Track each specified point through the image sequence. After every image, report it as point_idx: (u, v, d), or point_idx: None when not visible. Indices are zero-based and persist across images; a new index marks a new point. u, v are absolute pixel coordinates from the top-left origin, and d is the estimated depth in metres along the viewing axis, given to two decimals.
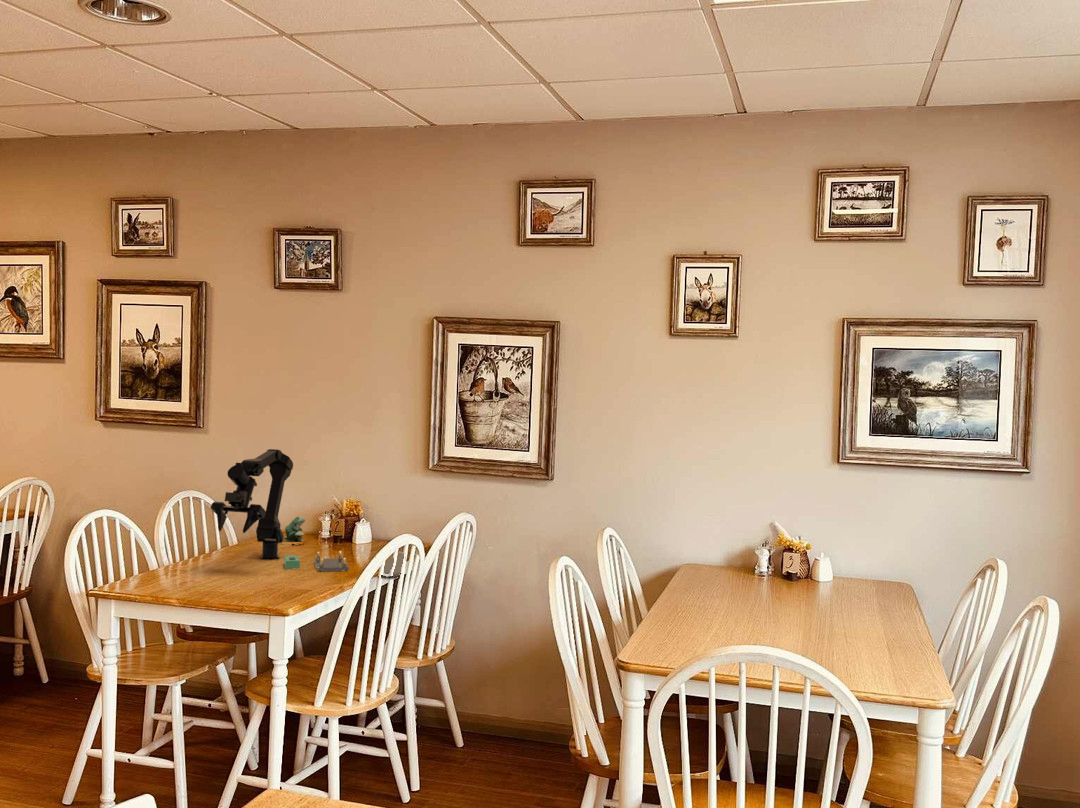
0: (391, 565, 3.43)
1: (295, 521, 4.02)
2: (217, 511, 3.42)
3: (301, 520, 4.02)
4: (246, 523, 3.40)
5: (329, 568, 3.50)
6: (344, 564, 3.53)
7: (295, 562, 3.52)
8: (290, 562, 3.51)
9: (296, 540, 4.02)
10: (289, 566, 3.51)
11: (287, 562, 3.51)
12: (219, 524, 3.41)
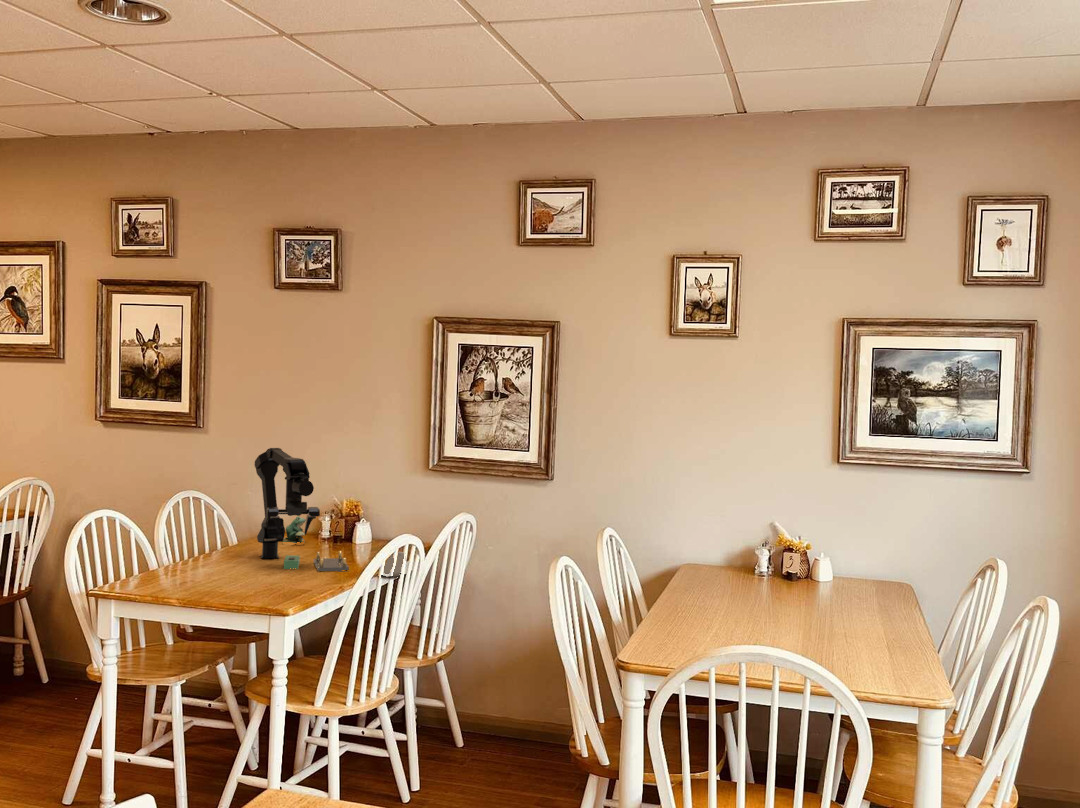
0: (391, 565, 3.43)
1: (296, 521, 4.01)
2: (275, 519, 3.52)
3: (302, 520, 4.02)
4: (307, 527, 3.56)
5: (329, 568, 3.50)
6: (344, 564, 3.53)
7: (293, 562, 3.52)
8: (288, 562, 3.51)
9: (297, 540, 4.01)
10: (287, 566, 3.51)
11: (285, 562, 3.51)
12: (279, 530, 3.54)
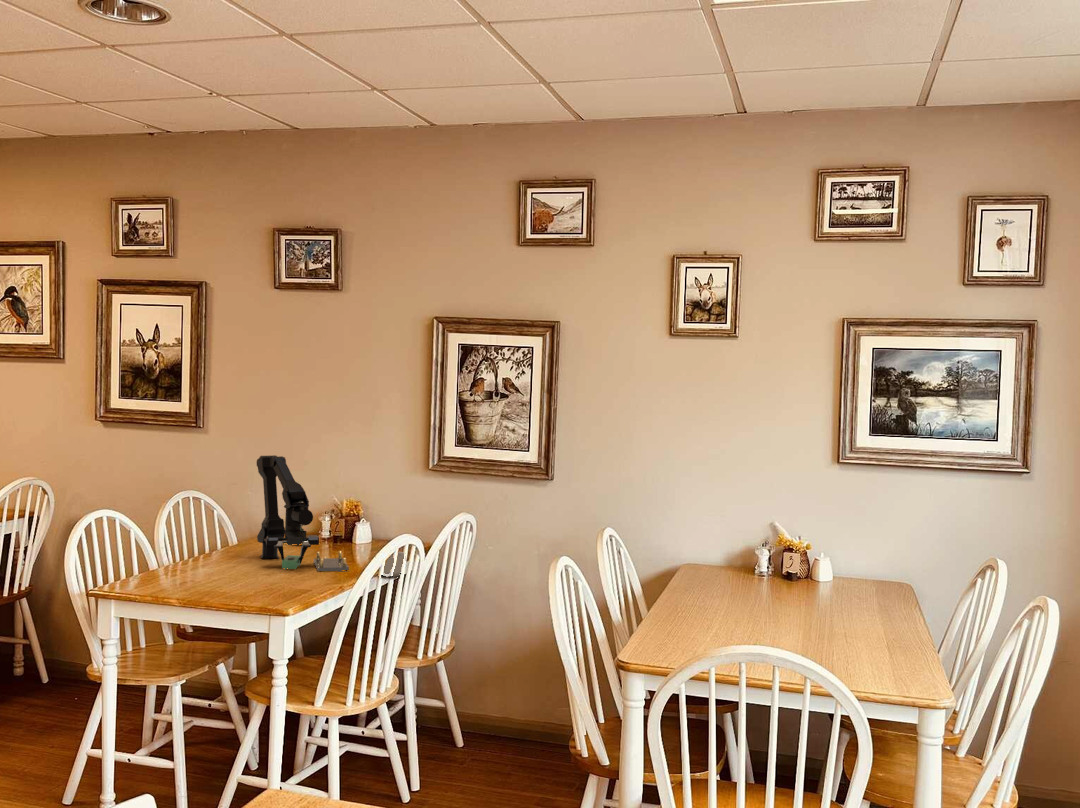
0: (391, 565, 3.43)
1: None
2: (279, 548, 3.52)
3: None
4: (302, 555, 3.56)
5: (329, 568, 3.50)
6: (344, 564, 3.53)
7: (291, 562, 3.51)
8: (286, 562, 3.51)
9: None
10: (285, 566, 3.51)
11: (283, 562, 3.51)
12: (283, 558, 3.54)
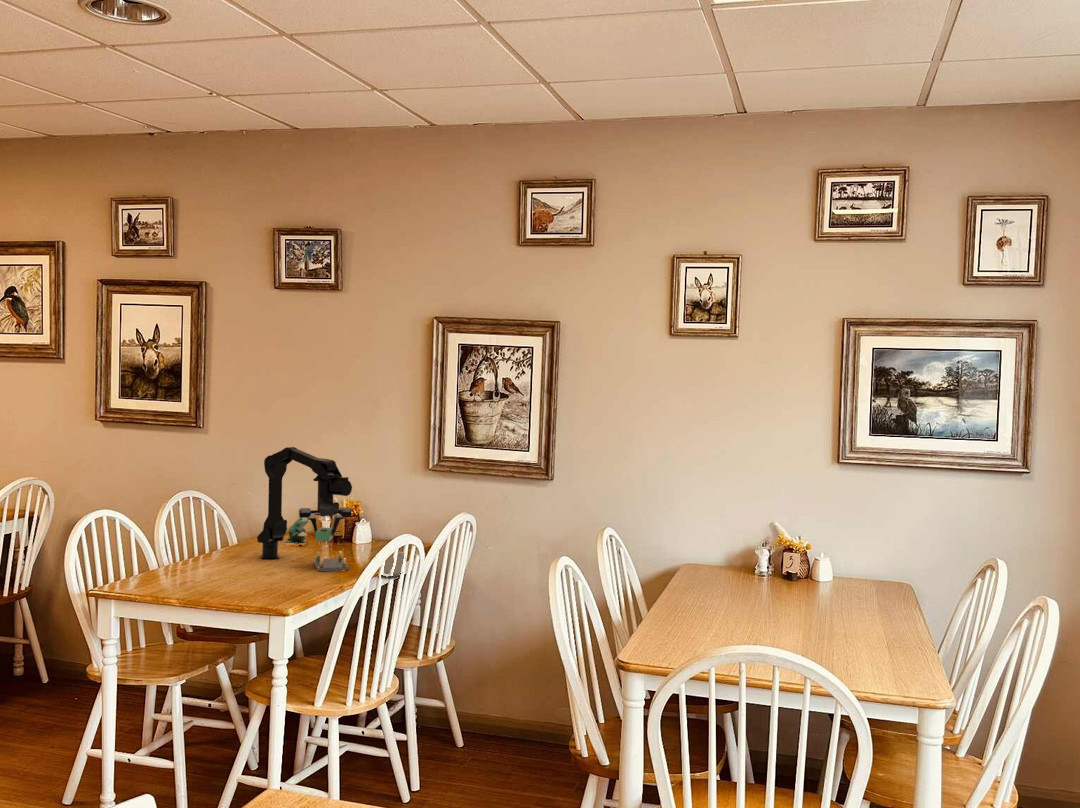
0: (391, 565, 3.43)
1: (298, 522, 4.00)
2: (312, 520, 3.54)
3: (304, 521, 4.01)
4: (334, 527, 3.58)
5: (329, 568, 3.50)
6: (344, 564, 3.53)
7: (325, 533, 3.53)
8: (320, 533, 3.53)
9: (299, 541, 4.00)
10: (319, 537, 3.53)
11: (317, 533, 3.53)
12: (316, 530, 3.56)
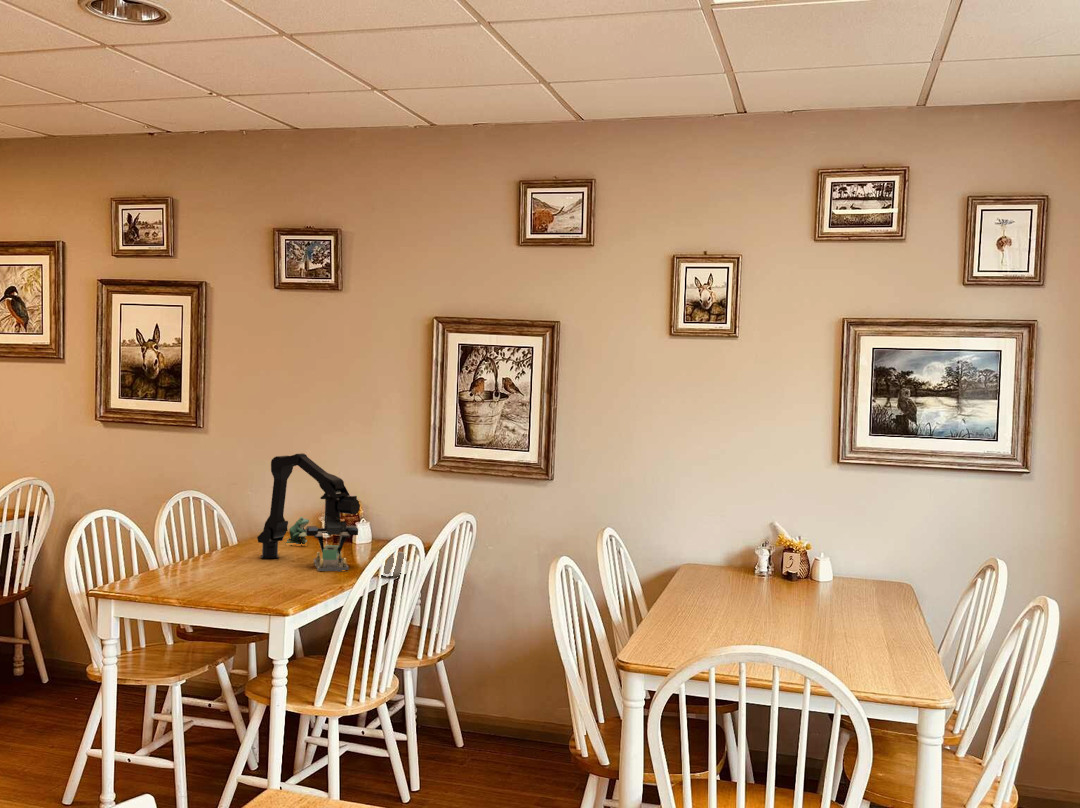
0: (391, 565, 3.43)
1: (299, 522, 4.00)
2: (319, 538, 3.55)
3: (305, 521, 4.00)
4: (341, 545, 3.59)
5: (329, 568, 3.50)
6: (344, 564, 3.53)
7: (332, 551, 3.54)
8: (327, 551, 3.54)
9: (300, 541, 4.00)
10: (326, 555, 3.54)
11: (324, 551, 3.54)
12: (322, 548, 3.57)
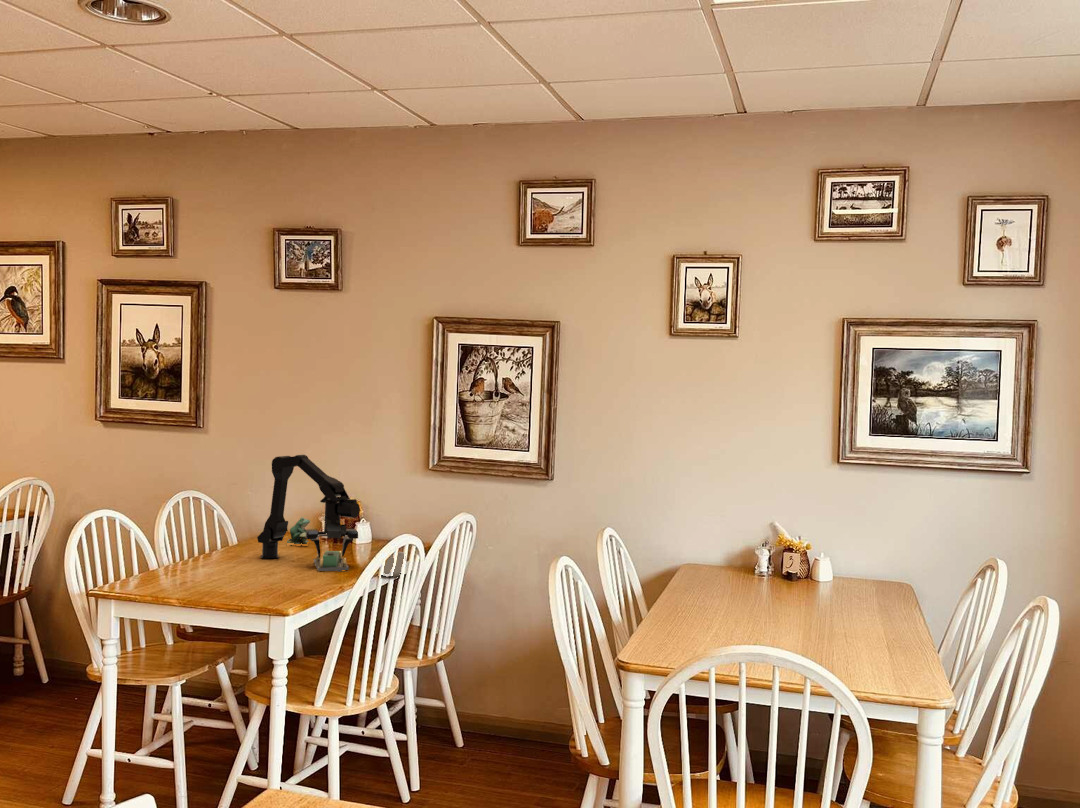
0: (391, 565, 3.43)
1: (300, 522, 3.99)
2: (316, 541, 3.54)
3: (306, 521, 4.00)
4: (344, 549, 3.59)
5: (329, 568, 3.50)
6: (344, 564, 3.53)
7: (332, 557, 3.54)
8: (327, 557, 3.54)
9: (301, 541, 3.99)
10: (326, 561, 3.54)
11: (324, 557, 3.54)
12: (319, 552, 3.57)
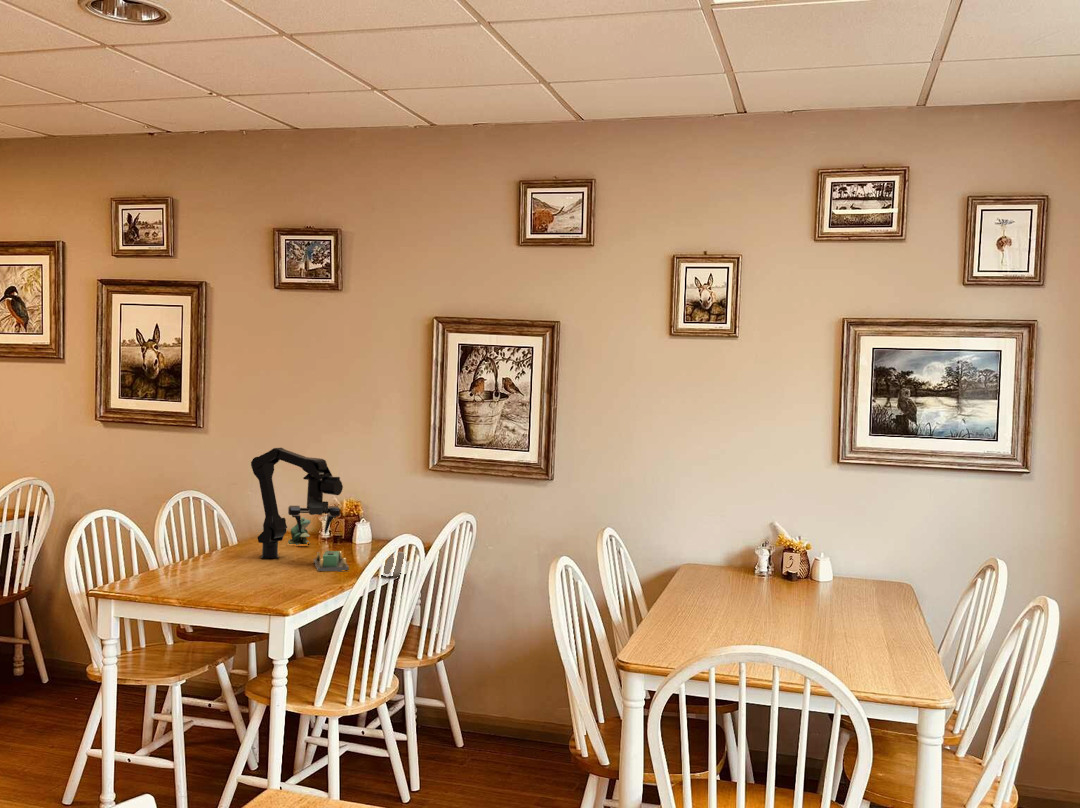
0: (391, 565, 3.43)
1: None
2: (297, 517, 3.59)
3: (306, 522, 3.99)
4: (327, 526, 3.64)
5: (329, 568, 3.50)
6: (344, 564, 3.53)
7: (332, 557, 3.54)
8: (327, 557, 3.54)
9: (301, 542, 3.98)
10: (326, 561, 3.54)
11: (324, 557, 3.54)
12: (300, 528, 3.61)
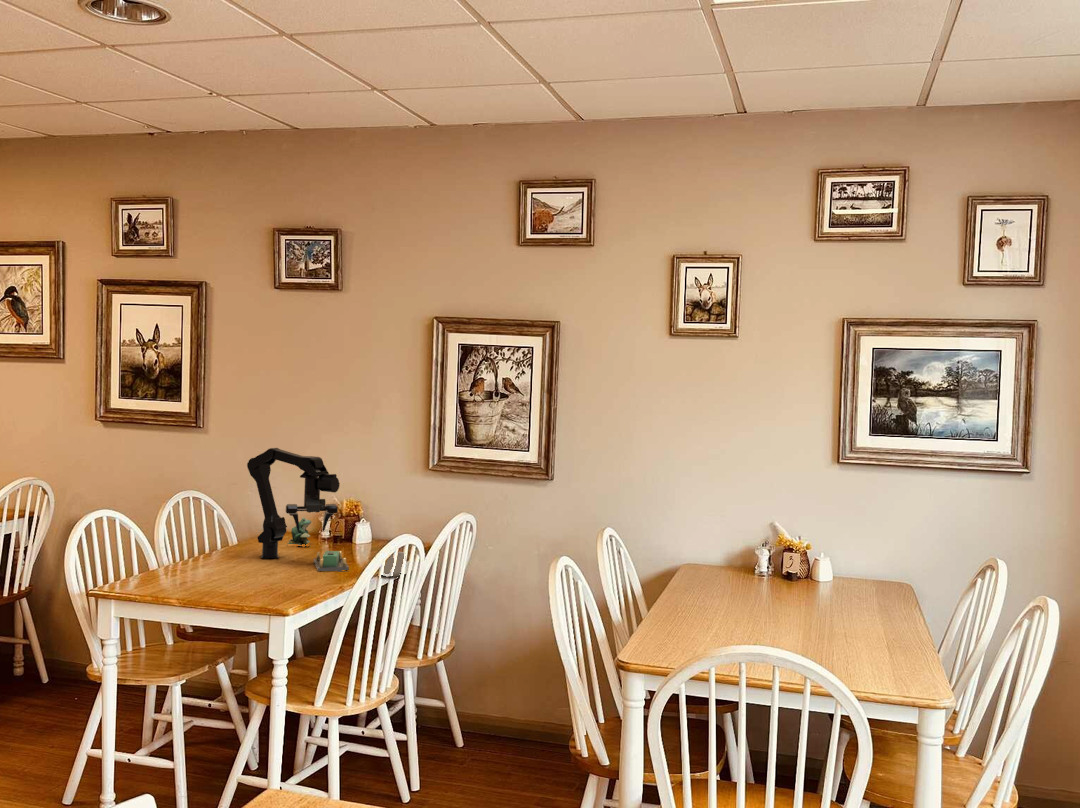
0: (391, 565, 3.43)
1: (301, 523, 3.98)
2: (294, 516, 3.59)
3: (307, 522, 3.98)
4: (325, 523, 3.64)
5: (329, 568, 3.50)
6: (344, 564, 3.53)
7: (332, 557, 3.54)
8: (327, 557, 3.54)
9: (302, 542, 3.98)
10: (326, 561, 3.54)
11: (324, 557, 3.54)
12: (298, 526, 3.62)
